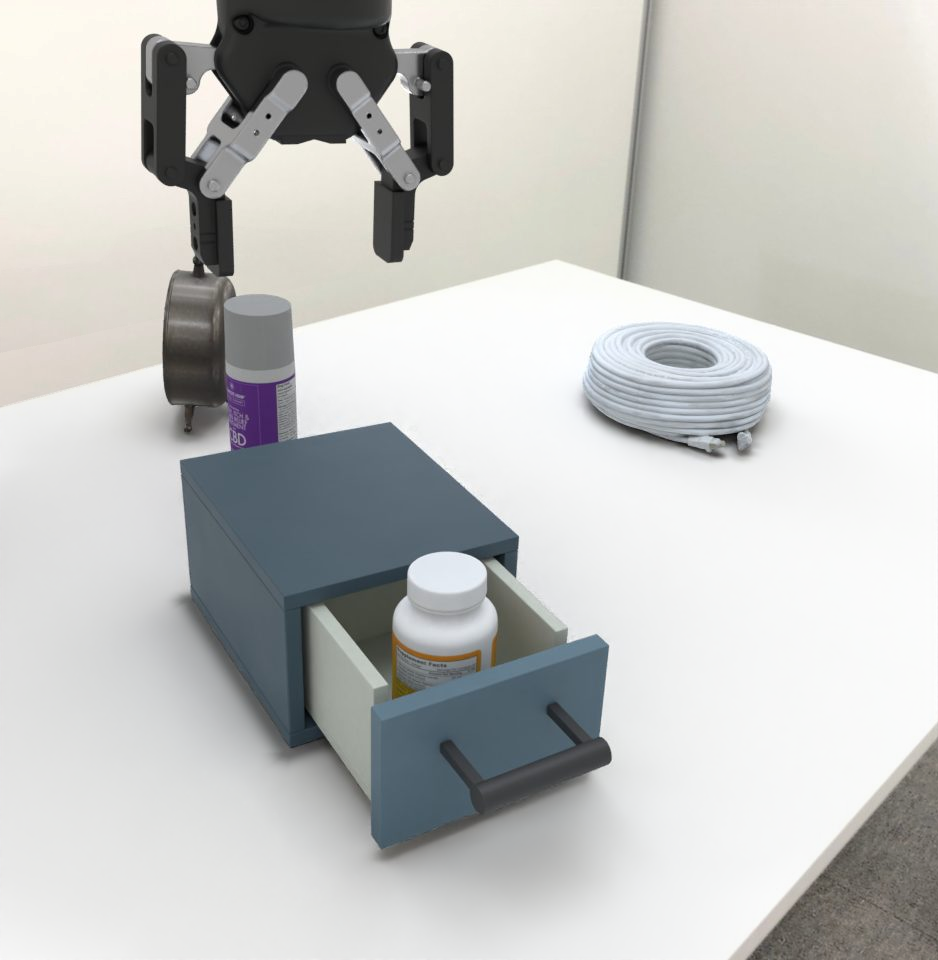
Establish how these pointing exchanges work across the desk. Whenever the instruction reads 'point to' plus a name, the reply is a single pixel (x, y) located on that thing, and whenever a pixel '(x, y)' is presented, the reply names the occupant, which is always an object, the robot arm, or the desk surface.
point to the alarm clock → (195, 340)
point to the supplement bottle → (442, 623)
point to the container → (260, 370)
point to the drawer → (454, 709)
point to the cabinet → (316, 542)
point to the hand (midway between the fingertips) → (306, 265)
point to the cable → (679, 382)
